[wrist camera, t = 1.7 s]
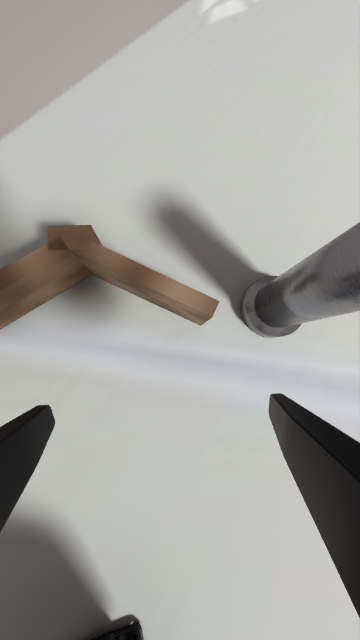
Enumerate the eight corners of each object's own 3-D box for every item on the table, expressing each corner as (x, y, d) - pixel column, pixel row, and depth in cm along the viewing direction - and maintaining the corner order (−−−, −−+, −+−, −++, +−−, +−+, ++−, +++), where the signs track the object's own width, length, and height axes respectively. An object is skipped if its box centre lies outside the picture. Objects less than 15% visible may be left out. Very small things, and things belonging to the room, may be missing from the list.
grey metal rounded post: (303, 330, 22) (539, 291, 8) (249, 343, 21) (408, 324, 8) (286, 276, 23) (475, 157, 9) (233, 287, 22) (351, 177, 8)
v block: (207, 325, 21) (221, 316, 16) (-33, 344, 19) (-101, 342, 14) (199, 249, 22) (209, 220, 18) (-29, 261, 20) (-89, 231, 15)
